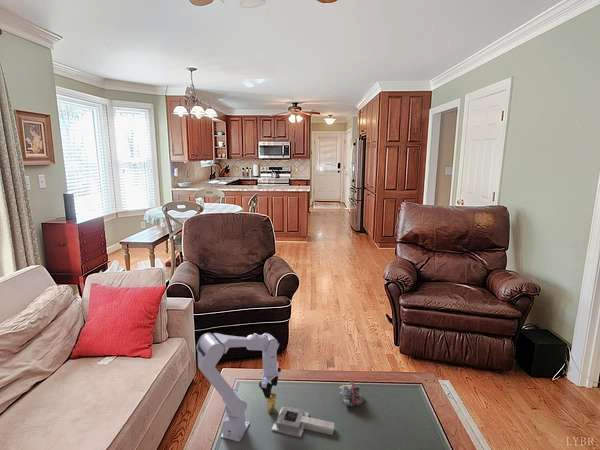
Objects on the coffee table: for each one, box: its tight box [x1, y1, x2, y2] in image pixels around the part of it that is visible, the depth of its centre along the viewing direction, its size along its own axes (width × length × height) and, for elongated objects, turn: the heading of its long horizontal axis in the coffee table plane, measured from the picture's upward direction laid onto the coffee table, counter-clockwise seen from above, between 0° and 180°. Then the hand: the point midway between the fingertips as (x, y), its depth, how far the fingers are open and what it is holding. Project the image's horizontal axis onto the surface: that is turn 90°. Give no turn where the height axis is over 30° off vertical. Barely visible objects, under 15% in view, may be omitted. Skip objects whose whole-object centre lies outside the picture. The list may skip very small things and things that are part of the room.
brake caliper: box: [339, 377, 364, 407], centre depth 153 cm, size 11×11×12 cm
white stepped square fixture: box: [271, 405, 335, 438], centre depth 140 cm, size 12×24×3 cm, turn 73°
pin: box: [265, 392, 277, 414], centre depth 148 cm, size 4×4×7 cm
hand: (270, 391), depth 146 cm, fingers open, 7 cm apart
